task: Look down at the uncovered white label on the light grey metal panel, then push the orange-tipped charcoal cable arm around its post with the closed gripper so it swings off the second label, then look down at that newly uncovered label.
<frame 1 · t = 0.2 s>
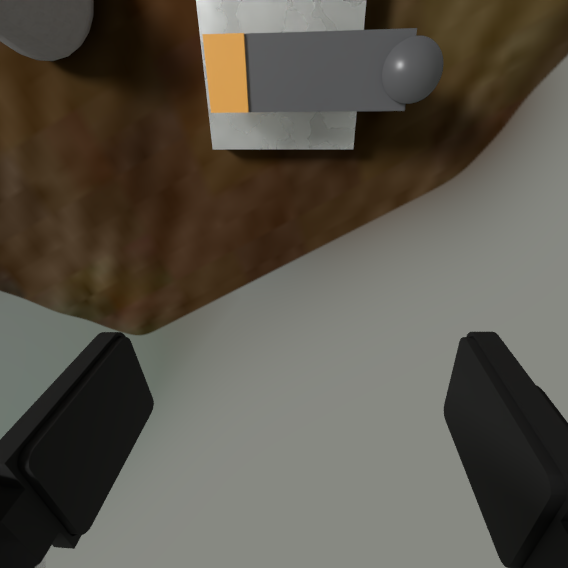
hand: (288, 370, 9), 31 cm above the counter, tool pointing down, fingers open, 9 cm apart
cable arm: (319, 74, 26), point 7 cm above the counter, hinge at 0.0°
coffee pot: (45, 48, 33), on the counter
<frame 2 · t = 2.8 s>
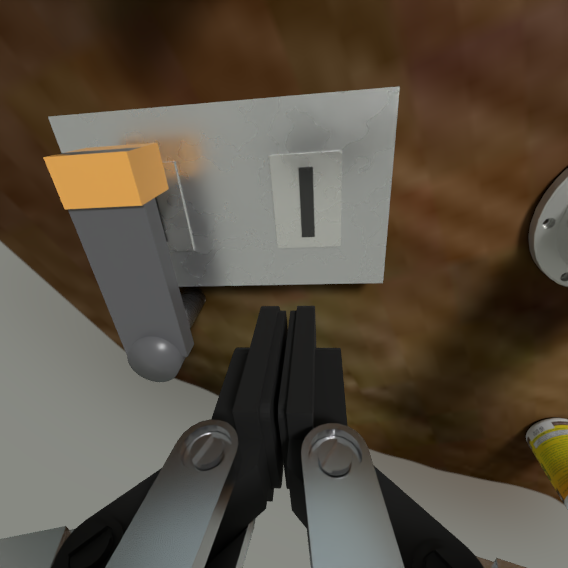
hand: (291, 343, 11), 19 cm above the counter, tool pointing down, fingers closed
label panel: (237, 196, 28), on the counter
cable arm: (142, 274, 24), point 7 cm above the counter, hinge at 0.0°
pivot post: (193, 297, 33), on the counter
supplement bottle: (548, 429, 38), on the counter
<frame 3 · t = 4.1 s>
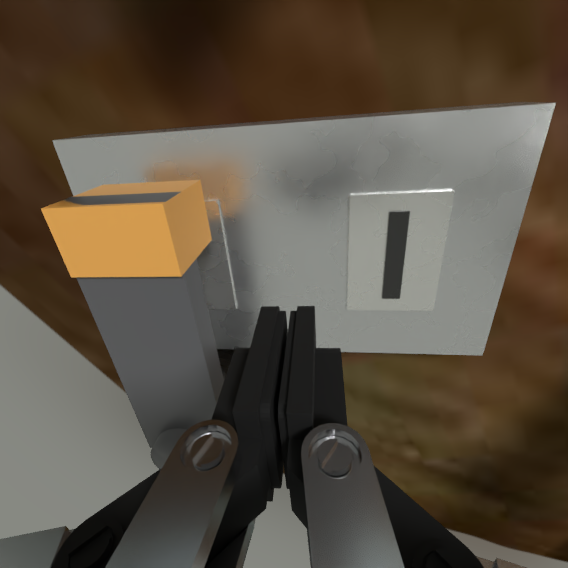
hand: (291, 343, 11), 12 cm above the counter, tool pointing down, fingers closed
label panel: (291, 238, 22), on the counter
cable arm: (173, 350, 18), point 7 cm above the counter, hinge at 0.0°
pivot post: (227, 352, 27), on the counter
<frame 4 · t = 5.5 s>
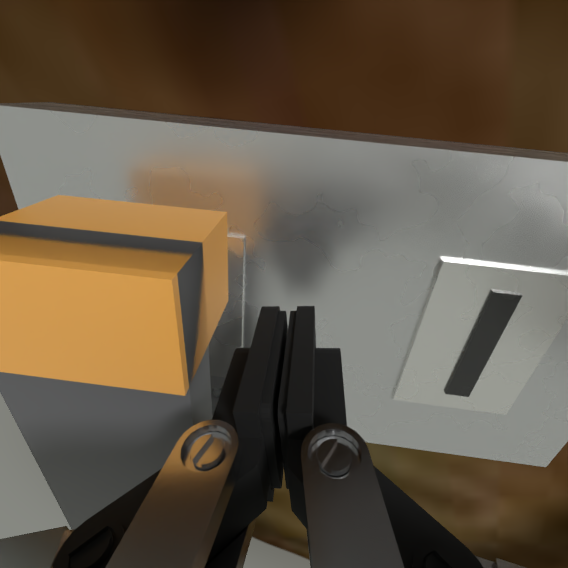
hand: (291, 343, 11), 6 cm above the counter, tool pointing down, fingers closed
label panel: (326, 288, 16), on the counter
cable arm: (146, 454, 12), point 7 cm above the counter, hinge at 0.6°, touching gripper
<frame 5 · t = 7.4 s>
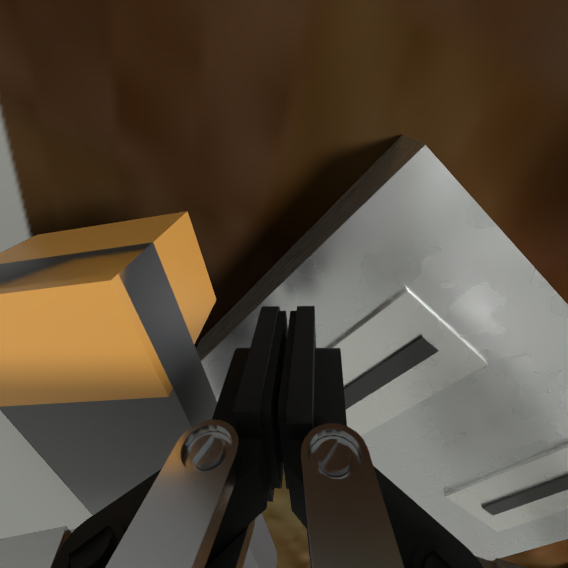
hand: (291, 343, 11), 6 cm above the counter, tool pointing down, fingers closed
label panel: (441, 389, 19), on the counter
cable arm: (176, 467, 12), point 7 cm above the counter, hinge at 51.1°, touching gripper
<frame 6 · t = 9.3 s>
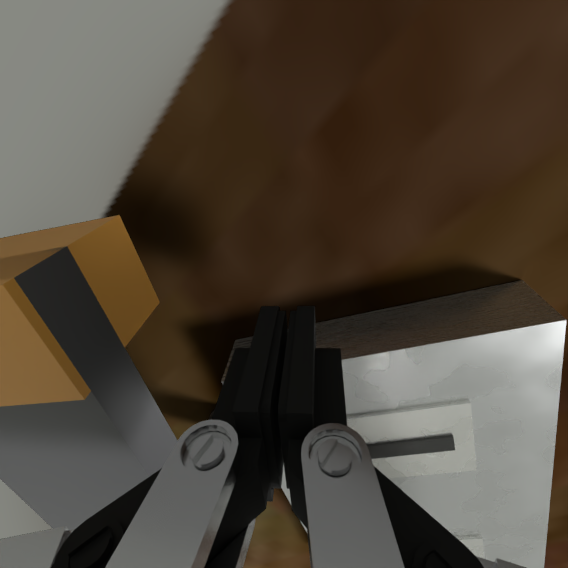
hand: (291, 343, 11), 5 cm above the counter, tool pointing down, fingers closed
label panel: (401, 458, 22), on the counter
cable arm: (129, 470, 12), point 7 cm above the counter, hinge at 83.5°
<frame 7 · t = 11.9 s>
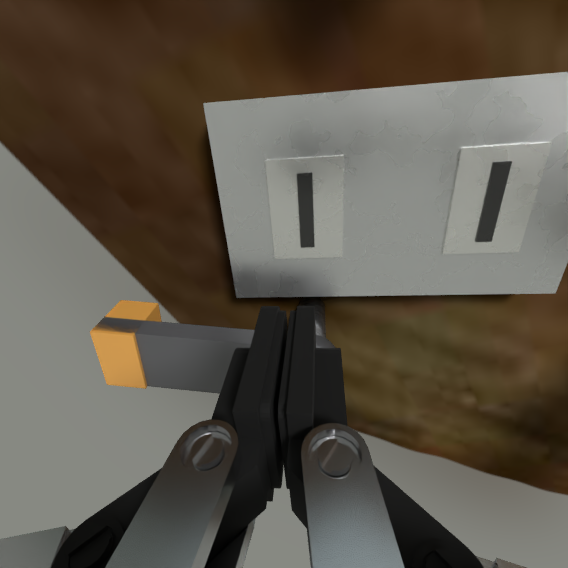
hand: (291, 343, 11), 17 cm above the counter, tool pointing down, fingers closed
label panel: (387, 195, 25), on the counter
cable arm: (222, 354, 24), point 7 cm above the counter, hinge at 83.5°
pivot post: (311, 307, 30), on the counter
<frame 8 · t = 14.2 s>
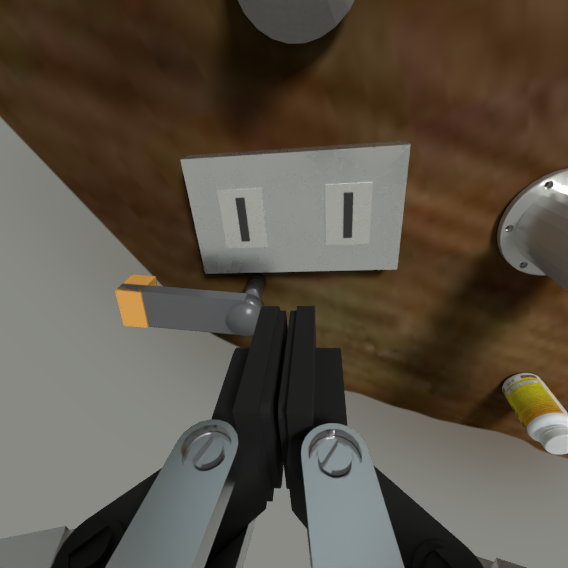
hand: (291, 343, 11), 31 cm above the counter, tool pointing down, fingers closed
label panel: (296, 209, 40), on the counter
cable arm: (194, 306, 40), point 7 cm above the counter, hinge at 83.5°
pivot post: (257, 281, 46), on the counter
supplement bottle: (519, 383, 51), on the counter
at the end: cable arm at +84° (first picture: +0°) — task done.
